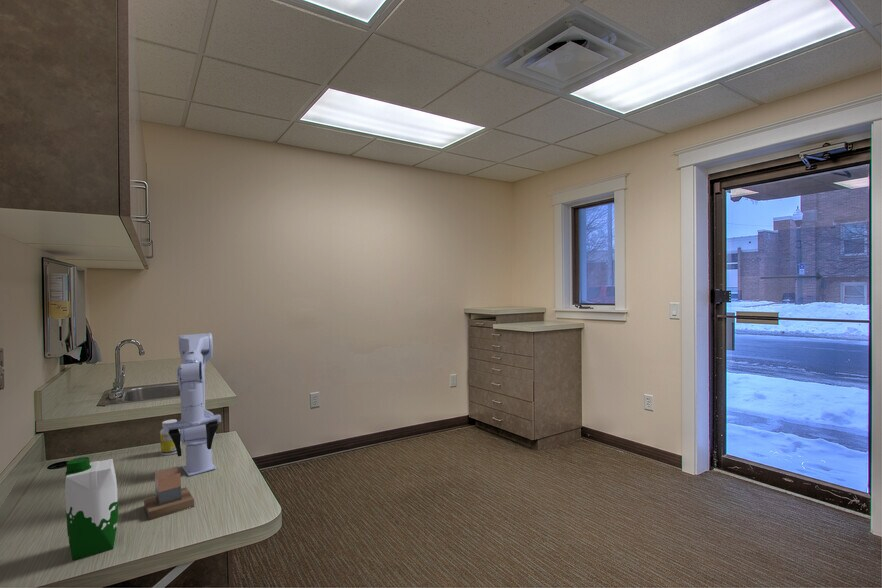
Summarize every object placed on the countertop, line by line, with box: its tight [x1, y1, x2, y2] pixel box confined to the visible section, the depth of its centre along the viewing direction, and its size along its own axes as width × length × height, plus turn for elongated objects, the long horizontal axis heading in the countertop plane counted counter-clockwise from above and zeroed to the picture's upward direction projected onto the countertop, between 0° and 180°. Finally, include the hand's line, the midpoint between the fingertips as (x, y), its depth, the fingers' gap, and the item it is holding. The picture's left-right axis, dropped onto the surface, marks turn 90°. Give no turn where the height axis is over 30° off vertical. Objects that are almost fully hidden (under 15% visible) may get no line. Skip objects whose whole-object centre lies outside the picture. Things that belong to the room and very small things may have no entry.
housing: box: [154, 466, 182, 506], centre depth 120 cm, size 5×6×7 cm
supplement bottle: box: [159, 418, 182, 456], centre depth 163 cm, size 6×6×11 cm
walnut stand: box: [143, 487, 195, 521], centre depth 120 cm, size 10×10×2 cm
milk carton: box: [64, 456, 119, 561], centre depth 102 cm, size 9×9×20 cm
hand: (194, 451), depth 131 cm, fingers open, 7 cm apart
